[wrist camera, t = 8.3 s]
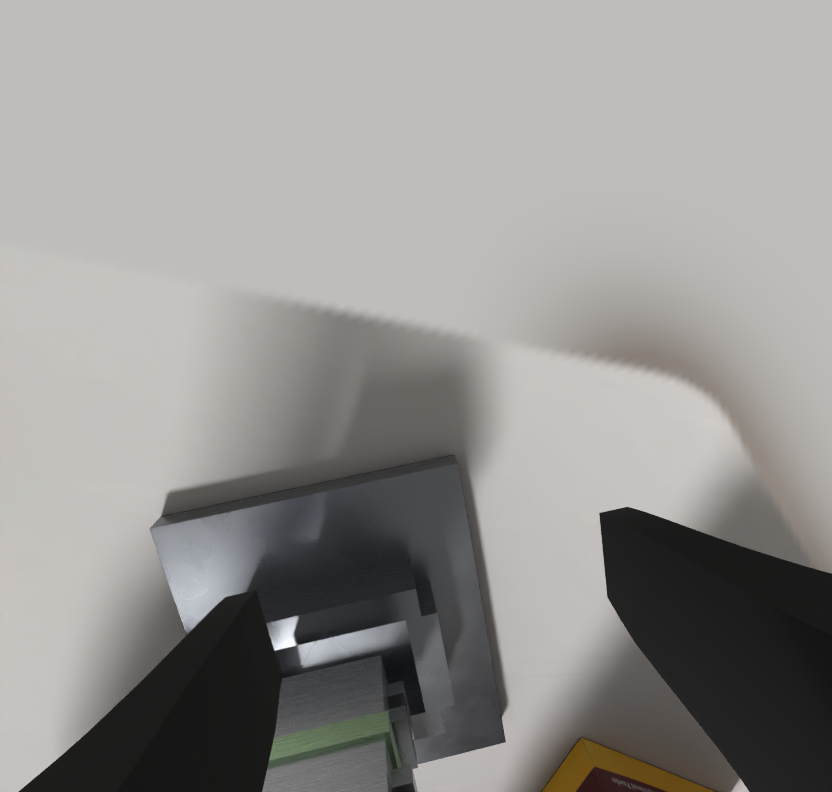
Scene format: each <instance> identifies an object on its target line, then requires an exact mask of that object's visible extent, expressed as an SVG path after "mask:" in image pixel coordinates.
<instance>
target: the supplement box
mask: <svg viewBox="0 0 832 792" xmlns="http://www.w3.org/2000/svg"><path fill="white" fill-rule="evenodd" d="M542 792H715V791H713V790H710V789H708V788H705V787H703V786H700V785H698V784H695V783H693V782H690V781H688V780H686V779H683V778H681V777H678V776H676V775H673V774H671V773H668V772H666V771H664V770H661V769H659V768H656V767H654V766H651V765H649V764H646V763H644V762H641V761H639V760H636V759H634V758H631V757H629V756H626V755H624V754H621V753H619V752H616V751H614V750H611V749H609V748H606V747H604V746H601V745H599V744H597V743H594V742H592V741H589V740H587V739H584V738H581V739H579V741H578V742H577V743H576V745H575V746H574V748H573V749H572V750H571V752H570V753H569V754H568V756H567V757H566V759H565V760H564V761H563V763H562V764H561V766H560V767H559V768H558V770H557V771H556V773H555V774H554V775H553V777H552V778H551V780H550V781H549V782H548V784H547V785H546V787H545V788H544V789H543V791H542Z"/></svg>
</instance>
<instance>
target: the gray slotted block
mask: <svg viewBox="0 0 832 792" xmlns="http://www.w3.org/2000/svg"><path fill="white" fill-rule="evenodd" d="M414 739H415V738H414V730H413V724H412V719H411V715H410V710H409V706H408V701H407V697H406V693H405V688H404V684H403V681H400V682H396V683H391V684H388V682H387V678H386V674H385V670H384V665H383V661H382V657H381V655H379V656H375V657H371V658H366V659H362V660H358V661H354V662H349V663H345V664H341V665H337V666H333V667H328V668H324V669H320V670H316V671H311V672H307V673H303V674H299V675H295V676H290V677H286V678H282V683H281V688H280V694H279V705H278V714H277V723H276V730H275V735H274V740H273V745H272V749H271V754H270V759H269V763H268V768H267V772H266V777H265V781H264V786H263V790H262V792H418V791H417V787H416V783H415V778H414V774H413V770H412V769H414V768H418V765H417V756H416V750H415V746H414V741H413V740H414Z"/></svg>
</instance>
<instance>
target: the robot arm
mask: <svg viewBox="0 0 832 792" xmlns="http://www.w3.org/2000/svg"><path fill="white" fill-rule="evenodd" d="M599 514H600V524H601V534H602V545H603V555H604V565H605V576H606V586H607V596H608V599H609V600H610V602H611V604H612V606H613V607H614V609H615V611H616V612H617V614H618V616H619V617H620V619H621V621H622V622H623V624H624V626H625V627H626V629H627V630H628V632H629V634H630V635H631V637H632V638H633V640H634V642H635V643H636V644H637V646H638V647H639V648H640V649H641V651H642V652H643V653H644V655H645V656H646V657H647V659H648V660H649V661H650V662H651V664H652V665H653V666H654V668H655V669H656V670H657V671H658V673H659V674H660V675H661V677H662V678H663V679H664V680H665V682H666V683H667V684H668V685H669V687H670V688H671V689H672V690H673V692H674V693H675V694H676V695H677V697H678V698H679V699H680V701H681V702H682V703H683V704H684V706H685V707H686V708H687V709H688V711H689V712H690V713H691V714H692V716H693V717H694V718H695V719H696V721H697V722H698V723H699V725H700V726H701V727H702V728H703V730H704V731H705V732H706V733H707V735H708V736H709V737H710V738H711V740H712V741H713V742H714V744H715V745H716V746H717V747H718V749H719V750H720V751H721V753H722V754H723V755H724V757H725V758H726V759H727V761H728V762H729V763H730V765H731V766H732V767H733V769H734V770H735V771H736V773H737V774H738V776H739V777H740V778H741V780H742V781H743V783H744V784H745V786H746V787H747V789H748V790H749V792H832V574H831V573H827V572H823V571H820V570H816V569H813V568H809V567H805V566H802V565H799V564H795V563H792V562H789V561H786V560H782V559H779V558H776V557H773V556H770V555H766V554H763V553H760V552H757V551H754V550H751V549H748V548H745V547H742V546H739V545H736V544H733V543H730V542H727V541H724V540H721V539H719V538H716V537H713V536H710V535H707V534H705V533H702V532H699V531H696V530H694V529H691V528H688V527H685V526H683V525H680V524H677V523H674V522H672V521H669V520H666V519H663V518H661V517H658V516H655V515H652V514H649V513H646V512H643V511H640V510H637V509H633V508H629V507H625V508H621V509H616V510H612V511H607V512H603V513H599ZM280 683H281V672H280V668H279V665H278V662H277V658H276V655H275V651H274V648H273V645H272V641H271V638H270V635H269V631H268V628H267V625H266V621H265V618H264V615H263V611H262V608H261V605H260V601H259V598H258V594H257V591H256V590H254V591H250V592H245V593H241V594H236V595H232V596H227V597H225V598H224V599H223V600H222V601H221V602H219V603H218V604H217V605H216V606H215V607H214V608H213V609H212V610H211V611H210V612H209V613H208V614H207V615H206V616H205V617H204V618H203V619H202V620H201V621H200V622H199V623H198V624H197V625H196V626H195V627H194V628H193V629H192V630H191V631H190V632H189V634H188V635H187V636H186V637H185V638H184V639H183V640H182V641H181V642H180V643H179V644H178V645H177V646H176V647H175V648H174V649H173V650H172V651H171V652H170V653H169V654H168V655H167V656H166V657H165V658H164V659H163V660H162V661H161V662H160V663H159V664H158V665H157V666H156V667H155V668H154V669H153V670H152V671H151V672H150V673H149V674H148V675H147V676H146V677H145V678H144V679H143V680H142V681H141V682H140V683H139V684H138V685H137V686H136V687H135V688H134V689H133V690H132V691H131V692H130V693H129V694H128V695H127V696H126V697H125V698H123V699H122V700H121V701H120V702H119V703H118V704H117V705H116V706H115V707H114V708H113V709H112V710H111V711H110V712H109V713H108V714H107V715H106V716H105V717H104V718H103V719H102V720H100V721H99V722H98V723H97V724H96V725H95V726H94V727H93V728H92V729H91V730H90V731H89V732H88V733H86V734H85V735H84V736H83V737H82V738H81V739H80V740H79V741H78V742H76V743H75V744H74V745H73V746H72V747H71V748H70V749H69V750H67V751H66V752H65V753H64V754H63V755H62V756H61V757H59V758H58V759H57V760H56V761H55V762H53V763H52V764H51V765H50V766H49V767H48V768H46V769H45V770H44V771H43V772H42V773H40V774H39V775H38V776H37V777H36V778H34V779H33V780H32V781H31V782H30V783H28V784H27V785H26V786H25V787H24V788H23V789H21V790H20V791H19V792H262V790H263V786H264V781H265V777H266V772H267V768H268V763H269V759H270V754H271V749H272V745H273V740H274V735H275V730H276V723H277V714H278V705H279V694H280Z"/></svg>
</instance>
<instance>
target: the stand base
mask: <svg viewBox="0 0 832 792" xmlns="http://www.w3.org/2000/svg"><path fill="white" fill-rule="evenodd" d="M150 532H151V534H152V537H153V540H154V543H155V546H156V549H157V552H158V555H159V557H160V560H161V563H162V566H163V569H164V572H165V575H166V578H167V581H168V583H169V586H170V589H171V592H172V595H173V598H174V601H175V604H176V606H177V609H178V612H179V615H180V618H181V621H182V624H183V627H184V629H185V632H186V635H188V634H189V632H190V631H191V630H192V629H193V628H194V627H195V626H196V625H197V624H198V623H199V622H200V621H201V620H202V619H203V618H204V617H205V616H206V615H207V614H208V613H209V612H210V611H211V610H212V609H213V608H214V607H215V606H216V605H217V604H218V603H219V602H221V601H222V600H223V599H224V598H225V597H227V596H232V595H236V594H241V593H245V592H250V591H254V590H256V591H257V594H258V598H259V601H260V605H261V608H262V611H263V615H264V618H265V621H266V625H267V628H268V631H269V635H270V638H271V641H272V645H273V648H274V651H275V655H276V658H277V662H278V665H279V668H280V672H281V683H282V678H286V677H290V676H295V675H299V674H303V673H307V672H311V671H316V670H320V669H324V668H328V667H333V666H337V665H341V664H345V663H349V662H354V661H358V660H362V659H366V658H371V657H375V656H379V655H381V657H382V661H383V665H384V670H385V674H386V678H387V682H388V684H391V683H396V682H400V681H403V684H404V688H405V693H406V697H407V701H408V706H409V710H410V715H411V719H412V724H413V730H414V738H415V739H414V740H413V741H414V746H415V750H416V756H417V764H421V763H425V762H429V761H433V760H437V759H441V758H445V757H449V756H453V755H457V754H461V753H464V752H468V751H472V750H476V749H480V748H484V747H488V746H492V745H496V744H500V743H504V742H506V741H505V735H504V729H503V724H502V718H501V712H500V706H499V700H498V694H497V688H496V682H495V676H494V671H493V665H492V659H491V653H490V647H489V641H488V635H487V629H486V623H485V618H484V612H483V606H482V600H481V594H480V588H479V582H478V576H477V570H476V565H475V559H474V553H473V547H472V541H471V535H470V529H469V523H468V517H467V512H466V506H465V500H464V494H463V488H462V482H461V476H460V470H459V464H458V462H457V460H456V458H455V456H454V455H450V456H446V457H441V458H436V459H431V460H427V461H422V462H417V463H412V464H408V465H403V466H398V467H394V468H389V469H384V470H379V471H375V472H370V473H365V474H360V475H356V476H351V477H346V478H341V479H337V480H332V481H327V482H323V483H318V484H313V485H308V486H304V487H299V488H294V489H289V490H285V491H280V492H275V493H270V494H266V495H261V496H256V497H251V498H247V499H242V500H237V501H233V502H228V503H223V504H218V505H214V506H209V507H204V508H199V509H195V510H190V511H185V512H180V513H176V514H171V515H166V516H161V517H160V518H159V519H158V520H157V521H156V522H155V523H154V525H153V526H152V527H151V528H150ZM281 683H280V688H281Z"/></svg>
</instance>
